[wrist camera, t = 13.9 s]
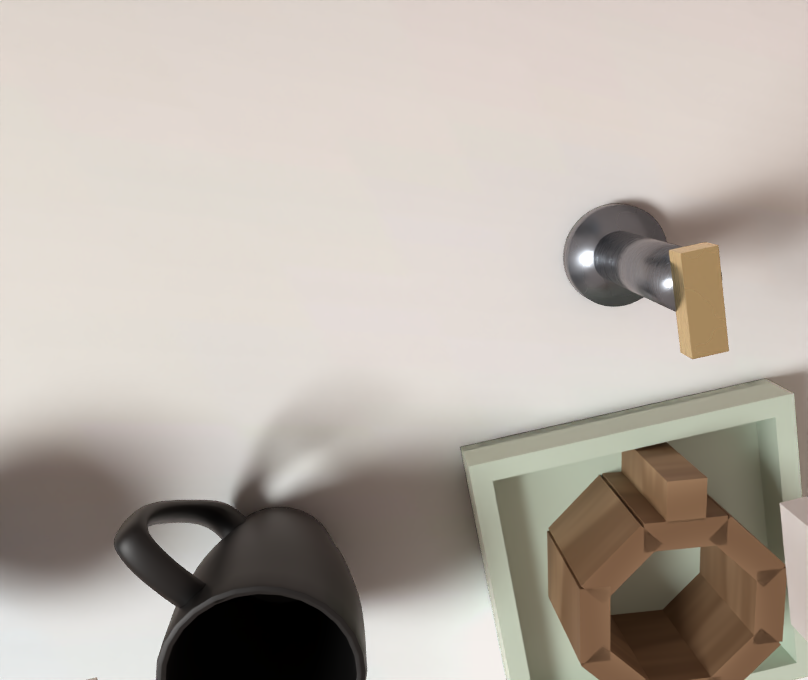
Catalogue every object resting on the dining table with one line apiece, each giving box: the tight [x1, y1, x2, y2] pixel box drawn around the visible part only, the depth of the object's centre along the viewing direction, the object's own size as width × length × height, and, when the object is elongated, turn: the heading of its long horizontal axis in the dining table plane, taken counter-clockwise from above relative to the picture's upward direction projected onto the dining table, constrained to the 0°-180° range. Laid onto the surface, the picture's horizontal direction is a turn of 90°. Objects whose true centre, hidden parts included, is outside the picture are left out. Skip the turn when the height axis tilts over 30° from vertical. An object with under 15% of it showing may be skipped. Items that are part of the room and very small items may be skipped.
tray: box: [460, 379, 808, 680], centre depth 40 cm, size 16×16×2 cm
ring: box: [547, 442, 787, 680], centre depth 37 cm, size 12×10×6 cm
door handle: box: [563, 204, 729, 359], centre depth 32 cm, size 5×5×10 cm
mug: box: [114, 500, 367, 680], centre depth 34 cm, size 8×12×10 cm
